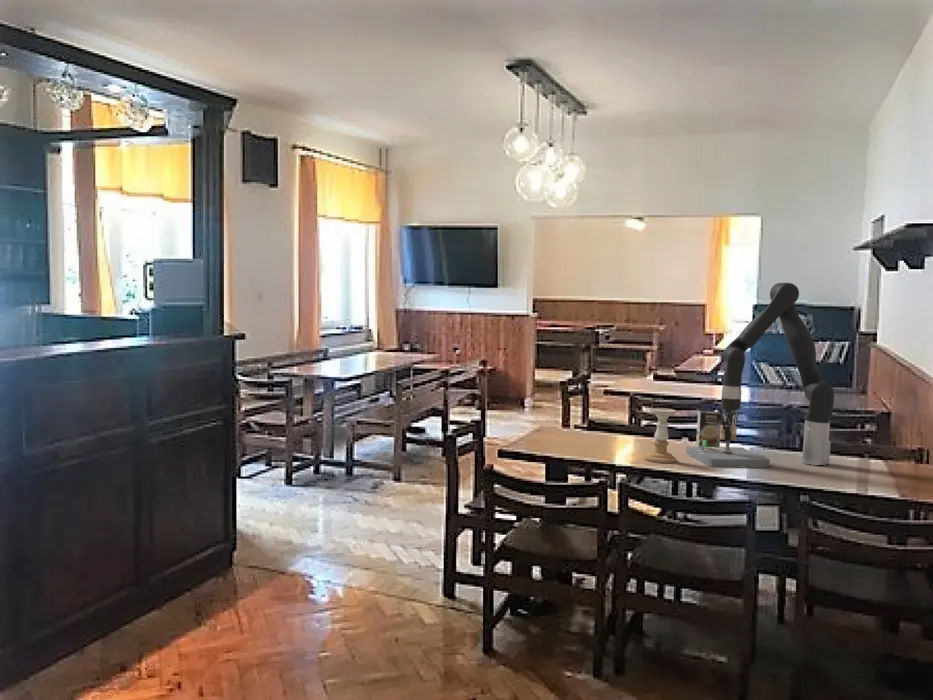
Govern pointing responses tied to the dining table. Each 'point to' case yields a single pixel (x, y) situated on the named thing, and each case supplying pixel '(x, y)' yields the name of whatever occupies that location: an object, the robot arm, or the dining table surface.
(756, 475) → the dining table surface
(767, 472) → the dining table surface
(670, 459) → the candle holder
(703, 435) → the coffee box
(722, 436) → the tuning key
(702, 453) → the board
